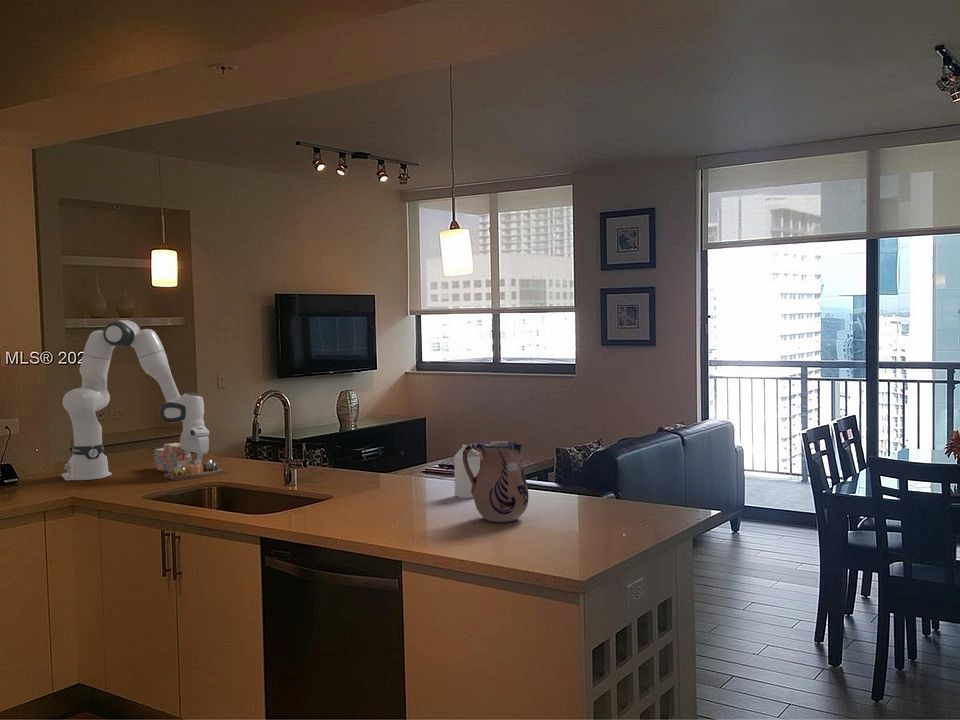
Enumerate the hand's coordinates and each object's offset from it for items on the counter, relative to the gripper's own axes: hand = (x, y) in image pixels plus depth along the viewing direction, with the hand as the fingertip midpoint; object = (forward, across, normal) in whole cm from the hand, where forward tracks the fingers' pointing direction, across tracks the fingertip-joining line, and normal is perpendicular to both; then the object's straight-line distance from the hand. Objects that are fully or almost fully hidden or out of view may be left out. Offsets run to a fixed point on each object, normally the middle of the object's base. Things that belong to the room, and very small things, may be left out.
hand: (194, 462), depth 365 cm
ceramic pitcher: (+4, +155, +29) cm, 158 cm away
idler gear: (+4, 0, 0) cm, 4 cm away
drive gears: (+4, 0, 0) cm, 4 cm away
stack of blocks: (+6, -20, -1) cm, 21 cm away
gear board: (+6, 0, 0) cm, 6 cm away
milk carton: (+4, +120, +49) cm, 130 cm away
